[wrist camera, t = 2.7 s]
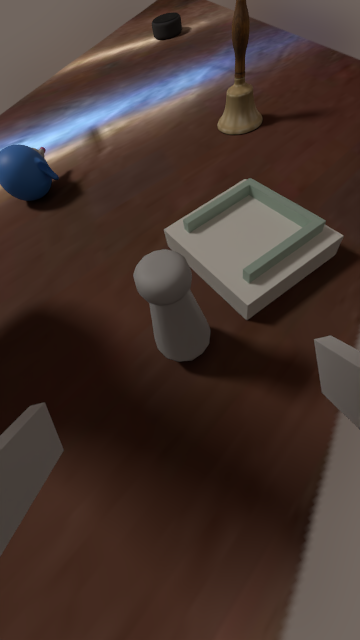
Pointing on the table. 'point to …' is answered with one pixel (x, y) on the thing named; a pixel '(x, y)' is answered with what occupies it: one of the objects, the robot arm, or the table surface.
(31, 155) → the blue rounded piece
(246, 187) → the dock
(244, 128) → the hand bell
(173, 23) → the smart speaker
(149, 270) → the salt shaker
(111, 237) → the table surface
